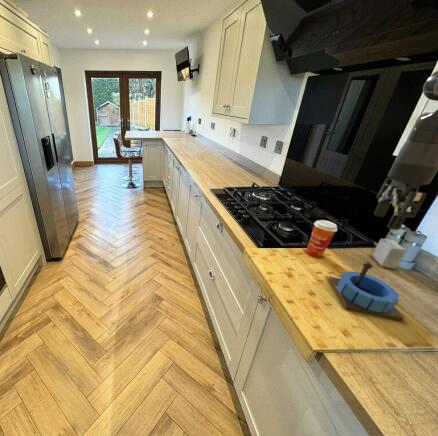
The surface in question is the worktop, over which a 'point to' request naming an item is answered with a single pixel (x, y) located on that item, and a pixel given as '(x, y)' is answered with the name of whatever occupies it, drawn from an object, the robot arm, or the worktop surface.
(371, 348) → the worktop surface
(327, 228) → the paper cup
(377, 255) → the medicine box
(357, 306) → the brown peg stand
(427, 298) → the worktop surface
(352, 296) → the blue notched ring
